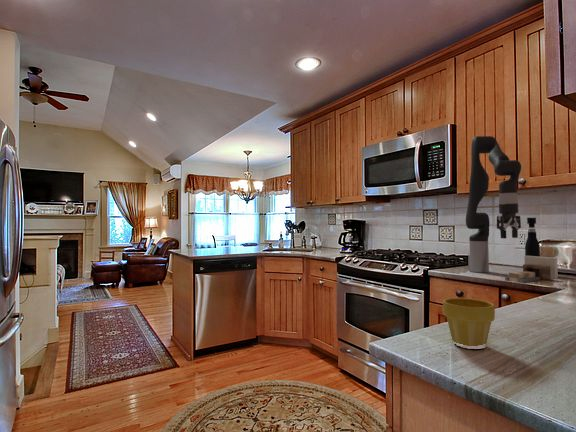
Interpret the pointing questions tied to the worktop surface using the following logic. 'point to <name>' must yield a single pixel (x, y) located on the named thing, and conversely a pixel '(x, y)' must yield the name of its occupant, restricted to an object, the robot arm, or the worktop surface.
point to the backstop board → (544, 263)
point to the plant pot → (469, 320)
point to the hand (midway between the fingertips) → (509, 238)
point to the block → (538, 270)
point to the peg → (520, 275)
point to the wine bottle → (532, 240)
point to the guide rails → (526, 279)
